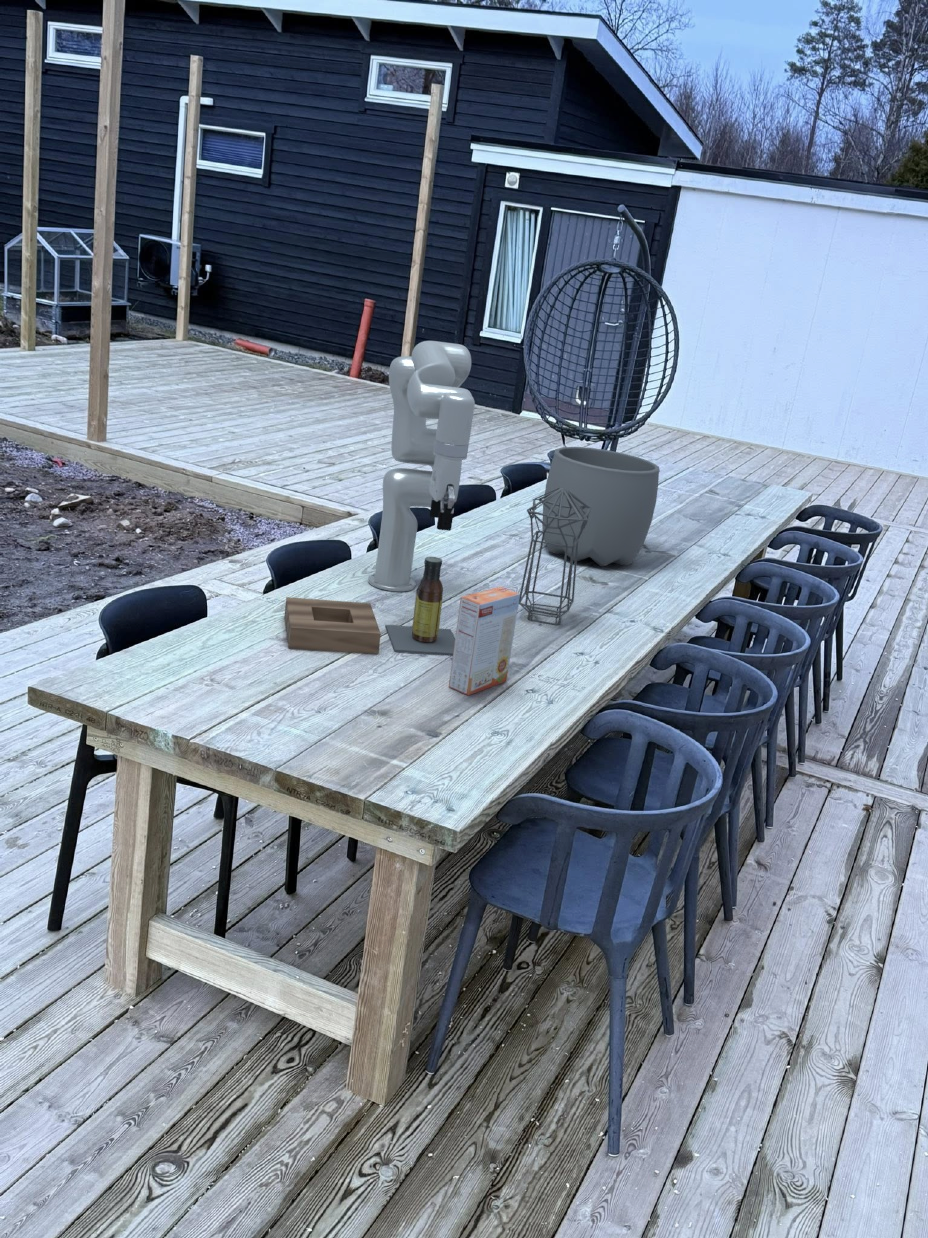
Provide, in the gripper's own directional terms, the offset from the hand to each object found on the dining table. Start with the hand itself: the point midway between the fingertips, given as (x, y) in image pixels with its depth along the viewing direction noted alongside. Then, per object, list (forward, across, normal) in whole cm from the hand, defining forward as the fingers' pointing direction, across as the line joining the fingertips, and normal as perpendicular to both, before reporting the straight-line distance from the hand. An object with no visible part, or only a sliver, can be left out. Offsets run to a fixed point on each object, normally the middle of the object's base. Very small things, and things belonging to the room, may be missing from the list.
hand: (439, 523), depth 256 cm
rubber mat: (+29, +1, 0) cm, 29 cm away
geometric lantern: (+29, -22, +35) cm, 51 cm away
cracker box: (+29, +25, +8) cm, 39 cm away
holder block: (+29, +1, -22) cm, 36 cm away
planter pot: (+30, -85, +68) cm, 113 cm away
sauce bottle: (+28, +1, 0) cm, 28 cm away
